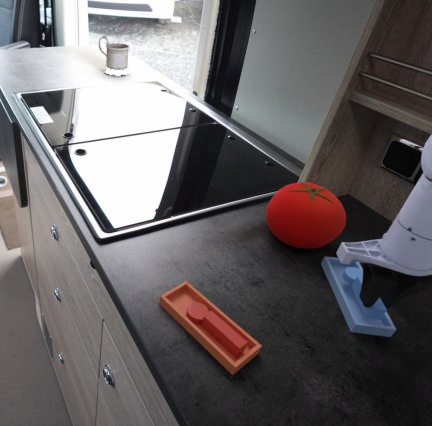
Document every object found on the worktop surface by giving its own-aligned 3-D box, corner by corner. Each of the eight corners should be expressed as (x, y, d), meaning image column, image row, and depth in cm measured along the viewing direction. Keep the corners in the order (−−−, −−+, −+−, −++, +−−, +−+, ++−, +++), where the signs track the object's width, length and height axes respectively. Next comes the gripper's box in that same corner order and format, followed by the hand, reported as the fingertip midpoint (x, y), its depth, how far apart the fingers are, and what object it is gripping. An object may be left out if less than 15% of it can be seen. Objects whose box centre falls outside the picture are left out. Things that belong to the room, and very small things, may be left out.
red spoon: (247, 349, 48) (251, 339, 47) (232, 361, 47) (236, 351, 45) (196, 304, 54) (198, 293, 53) (181, 313, 52) (183, 303, 51)
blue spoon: (385, 321, 51) (392, 310, 49) (361, 318, 51) (368, 307, 50) (359, 273, 58) (365, 263, 56) (339, 271, 58) (344, 260, 57)
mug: (134, 72, 144) (136, 39, 137) (117, 78, 139) (119, 43, 131) (107, 65, 152) (107, 32, 145) (90, 69, 146) (89, 36, 139)
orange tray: (258, 353, 48) (262, 345, 47) (232, 375, 46) (235, 367, 45) (184, 288, 57) (186, 280, 56) (158, 303, 54) (160, 296, 53)
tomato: (276, 210, 74) (293, 163, 67) (341, 240, 67) (366, 191, 61) (248, 235, 67) (263, 186, 61) (316, 271, 61) (341, 220, 54)
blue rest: (390, 337, 51) (396, 329, 50) (350, 332, 51) (355, 324, 50) (353, 267, 62) (357, 259, 60) (320, 263, 62) (324, 256, 61)
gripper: (471, 211, 46) (414, 287, 54) (347, 200, 47) (309, 275, 55) (512, 250, 40) (441, 328, 48) (370, 235, 41) (324, 313, 50)
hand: (372, 302), depth 51 cm, fingers closed on blue spoon, 1 cm apart
